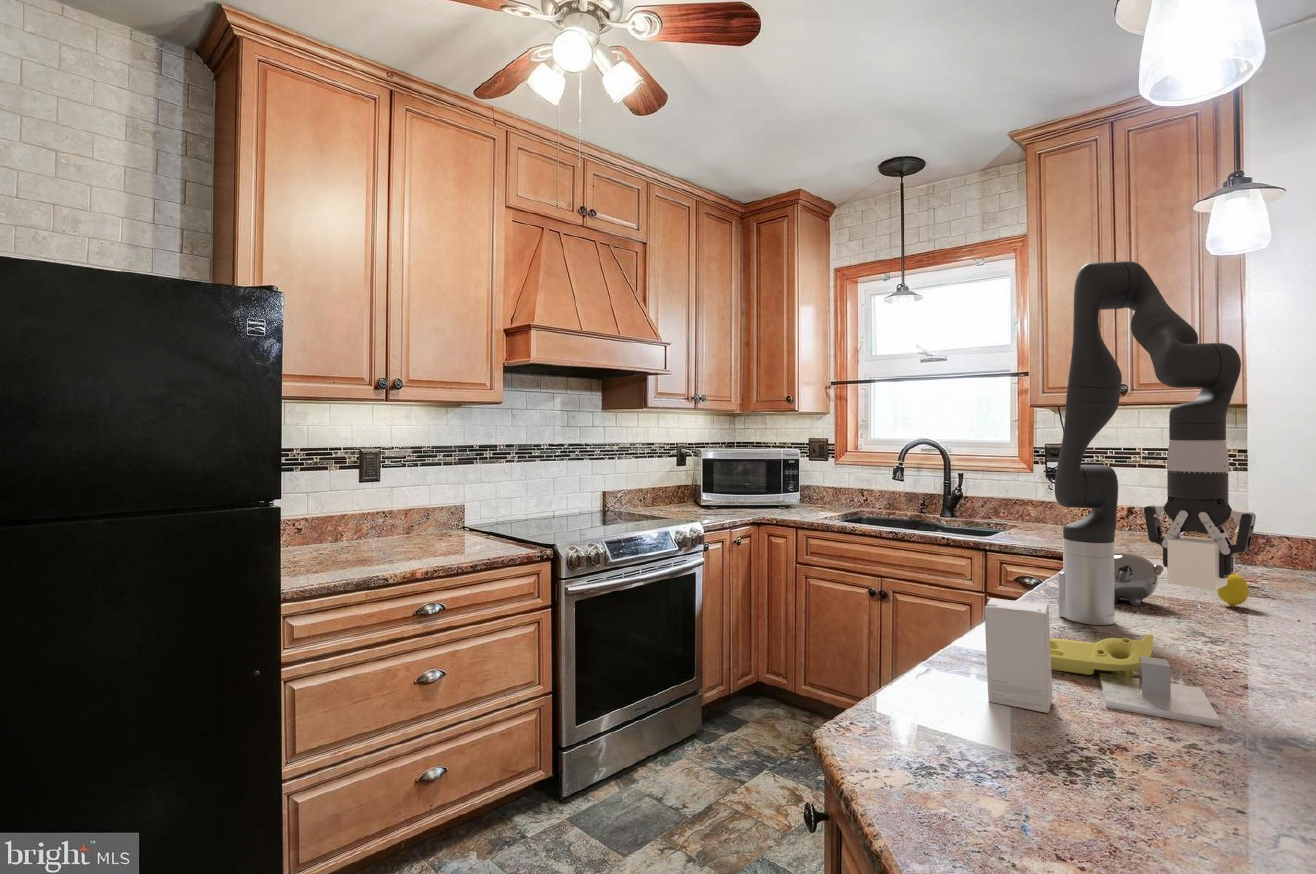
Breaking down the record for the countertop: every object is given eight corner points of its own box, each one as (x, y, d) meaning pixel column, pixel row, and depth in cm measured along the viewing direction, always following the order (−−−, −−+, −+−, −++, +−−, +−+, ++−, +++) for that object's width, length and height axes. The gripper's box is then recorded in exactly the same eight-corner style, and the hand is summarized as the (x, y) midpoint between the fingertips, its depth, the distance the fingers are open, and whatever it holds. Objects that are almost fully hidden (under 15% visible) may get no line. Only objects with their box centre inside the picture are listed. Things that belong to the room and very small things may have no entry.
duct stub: (1105, 707, 97) (1105, 666, 97) (1099, 678, 108) (1099, 642, 108) (1220, 727, 90) (1220, 683, 90) (1200, 694, 101) (1201, 655, 101)
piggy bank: (1090, 592, 165) (1090, 546, 165) (1165, 602, 155) (1165, 553, 155) (1081, 600, 157) (1081, 552, 157) (1160, 612, 147) (1160, 561, 147)
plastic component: (1010, 651, 115) (1020, 615, 122) (1018, 684, 117) (1028, 647, 124) (1151, 669, 102) (1153, 628, 109) (1157, 706, 104) (1159, 663, 111)
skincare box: (1052, 701, 99) (1052, 603, 99) (1048, 716, 94) (1048, 612, 94) (990, 689, 104) (990, 595, 104) (984, 702, 99) (984, 603, 99)
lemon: (1215, 602, 154) (1215, 568, 154) (1246, 606, 151) (1246, 571, 151) (1217, 607, 150) (1217, 572, 150) (1250, 611, 147) (1250, 575, 147)
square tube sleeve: (1167, 583, 105) (1167, 539, 105) (1180, 578, 109) (1180, 536, 109) (1215, 590, 100) (1215, 544, 100) (1227, 585, 104) (1227, 540, 104)
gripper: (1135, 467, 108) (1135, 569, 108) (1249, 471, 97) (1250, 585, 97) (1151, 466, 113) (1152, 564, 113) (1263, 469, 101) (1264, 579, 101)
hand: (1197, 573), depth 105 cm, fingers closed on square tube sleeve, 6 cm apart
